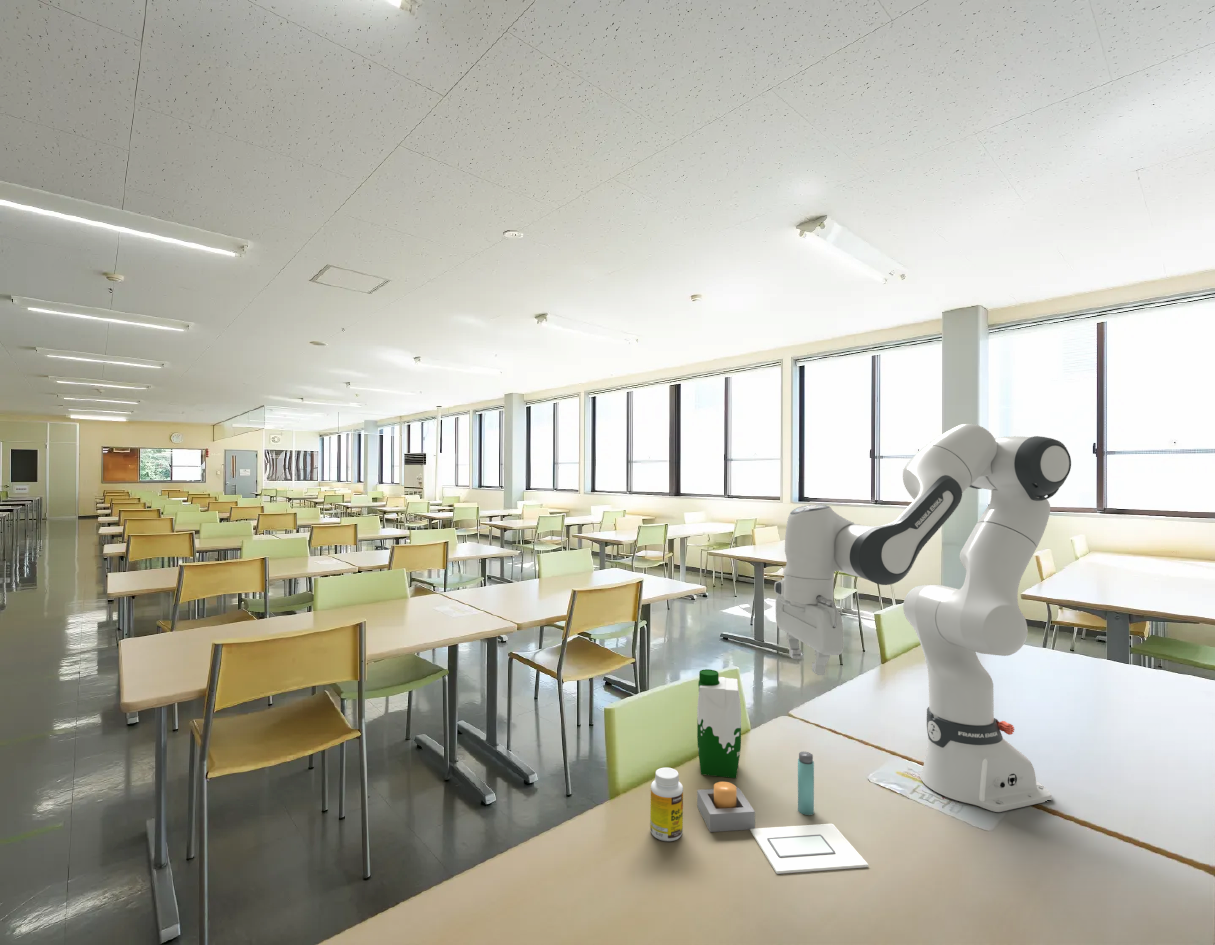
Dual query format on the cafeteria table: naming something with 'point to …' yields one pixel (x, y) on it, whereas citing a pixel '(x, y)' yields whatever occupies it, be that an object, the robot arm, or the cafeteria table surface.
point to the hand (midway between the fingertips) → (806, 665)
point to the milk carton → (718, 724)
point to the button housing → (725, 813)
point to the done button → (724, 795)
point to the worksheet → (807, 848)
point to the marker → (806, 783)
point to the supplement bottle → (666, 805)
